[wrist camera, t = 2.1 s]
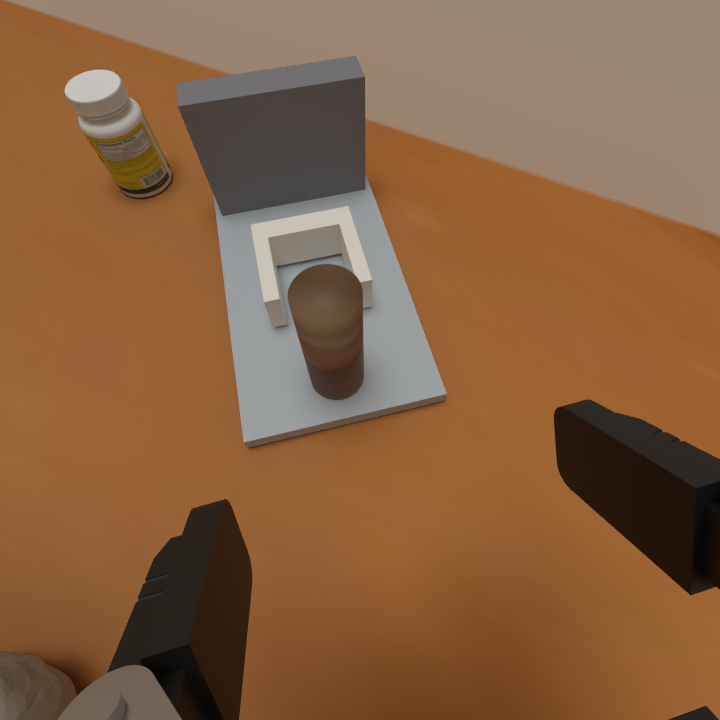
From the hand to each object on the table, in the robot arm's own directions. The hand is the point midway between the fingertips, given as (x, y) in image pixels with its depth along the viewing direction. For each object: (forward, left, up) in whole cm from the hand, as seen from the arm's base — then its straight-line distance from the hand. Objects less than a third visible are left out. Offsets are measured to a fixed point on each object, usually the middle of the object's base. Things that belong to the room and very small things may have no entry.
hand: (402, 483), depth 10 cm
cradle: (+16, +8, -14) cm, 23 cm away
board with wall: (+16, +8, -16) cm, 24 cm away
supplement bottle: (+25, +26, -16) cm, 40 cm away
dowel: (+9, +5, -15) cm, 18 cm away
